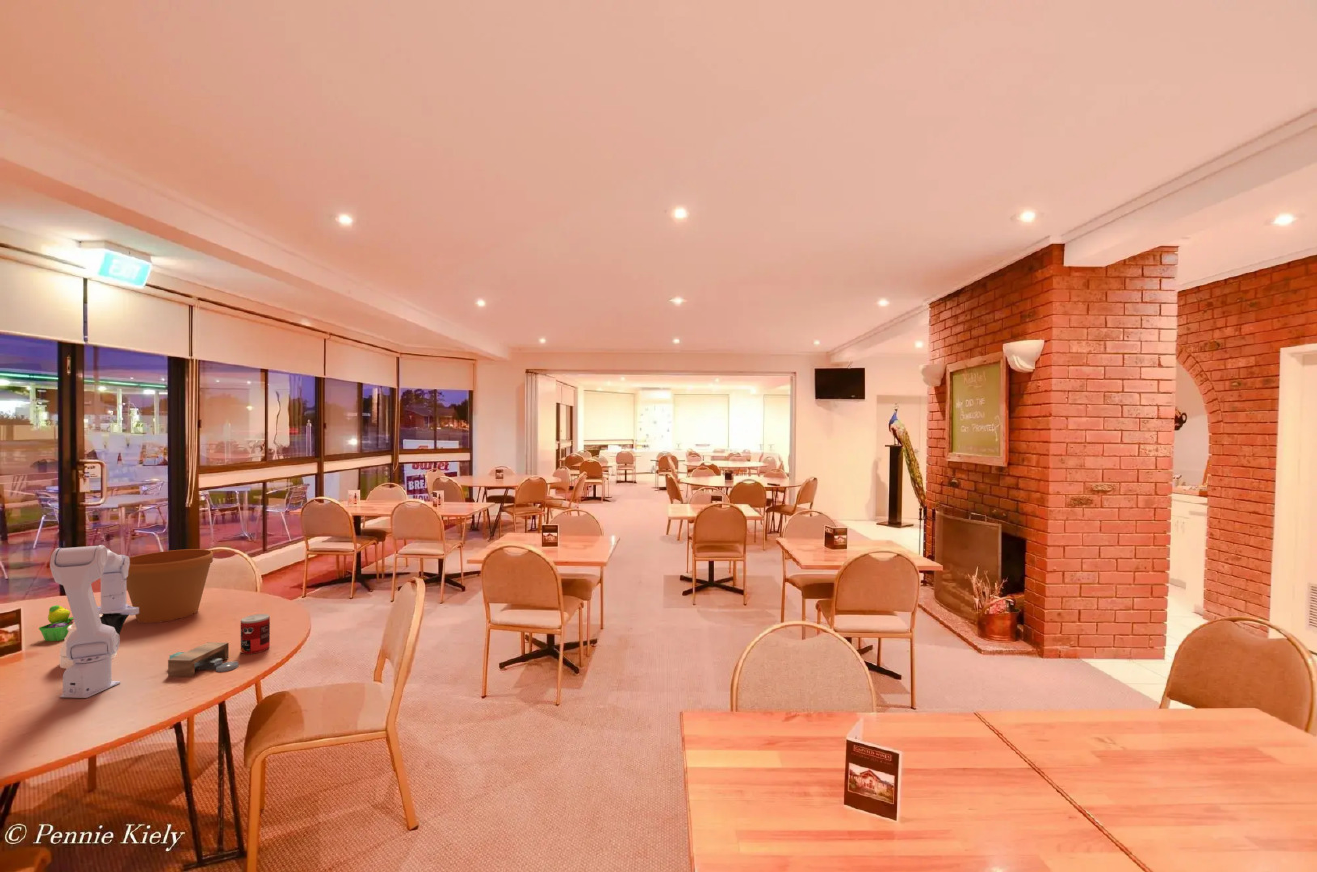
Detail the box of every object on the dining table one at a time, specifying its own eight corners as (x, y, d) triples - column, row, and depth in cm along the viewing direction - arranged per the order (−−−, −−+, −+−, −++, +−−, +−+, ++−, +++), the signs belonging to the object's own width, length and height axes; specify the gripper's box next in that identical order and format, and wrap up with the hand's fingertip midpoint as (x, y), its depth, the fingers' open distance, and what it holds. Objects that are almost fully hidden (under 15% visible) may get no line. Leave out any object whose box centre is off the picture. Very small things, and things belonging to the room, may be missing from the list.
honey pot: (122, 657, 181) (122, 602, 181) (66, 672, 170) (66, 613, 170) (109, 649, 188) (108, 596, 187) (54, 662, 177) (53, 606, 176)
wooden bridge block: (190, 676, 167) (190, 660, 167) (168, 676, 167) (168, 659, 167) (228, 657, 181) (228, 642, 181) (207, 657, 181) (207, 642, 181)
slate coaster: (227, 673, 170) (227, 669, 170) (211, 672, 171) (211, 668, 171) (243, 665, 176) (243, 661, 176) (226, 664, 176) (226, 661, 176)
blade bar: (214, 670, 172) (214, 657, 172) (169, 669, 173) (169, 655, 173) (222, 666, 175) (222, 653, 175) (178, 665, 176) (178, 651, 176)
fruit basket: (59, 642, 194) (58, 610, 193) (33, 642, 193) (33, 610, 193) (92, 630, 205) (92, 600, 205) (68, 630, 205) (68, 600, 205)
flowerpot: (115, 632, 203) (114, 568, 203) (124, 613, 224) (124, 555, 224) (213, 616, 220) (212, 557, 220) (212, 599, 242) (212, 546, 242)
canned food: (238, 649, 188) (238, 617, 187) (267, 643, 193) (267, 612, 193) (242, 656, 182) (242, 623, 182) (271, 649, 188) (271, 617, 188)
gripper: (148, 590, 176) (148, 633, 176) (104, 589, 176) (105, 632, 176) (126, 597, 169) (126, 641, 169) (80, 596, 169) (81, 640, 169)
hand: (113, 637), depth 172 cm, fingers closed
